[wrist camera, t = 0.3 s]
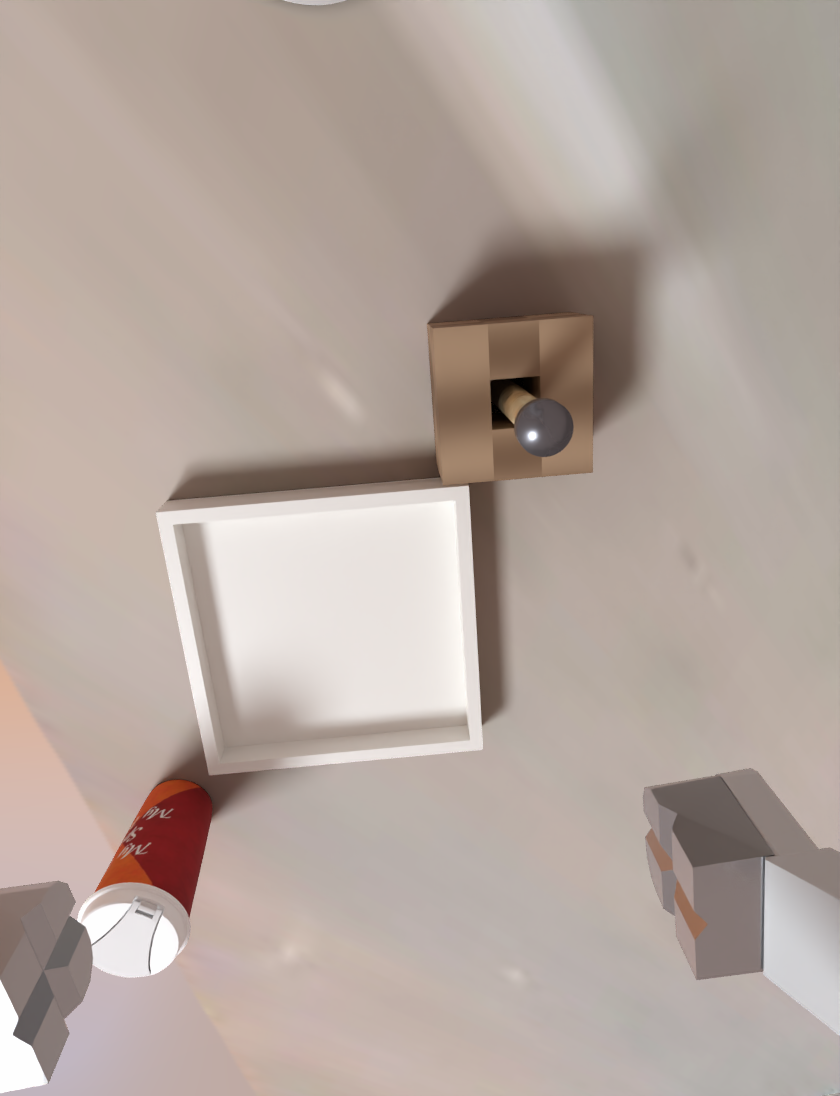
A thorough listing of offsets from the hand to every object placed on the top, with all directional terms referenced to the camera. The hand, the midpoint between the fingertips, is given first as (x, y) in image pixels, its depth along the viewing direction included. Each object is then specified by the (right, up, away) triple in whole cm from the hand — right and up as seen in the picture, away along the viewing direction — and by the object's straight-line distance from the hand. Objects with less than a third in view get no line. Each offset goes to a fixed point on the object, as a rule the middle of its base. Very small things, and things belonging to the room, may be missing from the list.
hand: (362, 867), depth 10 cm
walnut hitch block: (+7, +16, +43) cm, 46 cm away
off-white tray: (-6, -1, +48) cm, 49 cm away
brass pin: (+7, +16, +43) cm, 46 cm away
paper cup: (-20, -18, +54) cm, 60 cm away
